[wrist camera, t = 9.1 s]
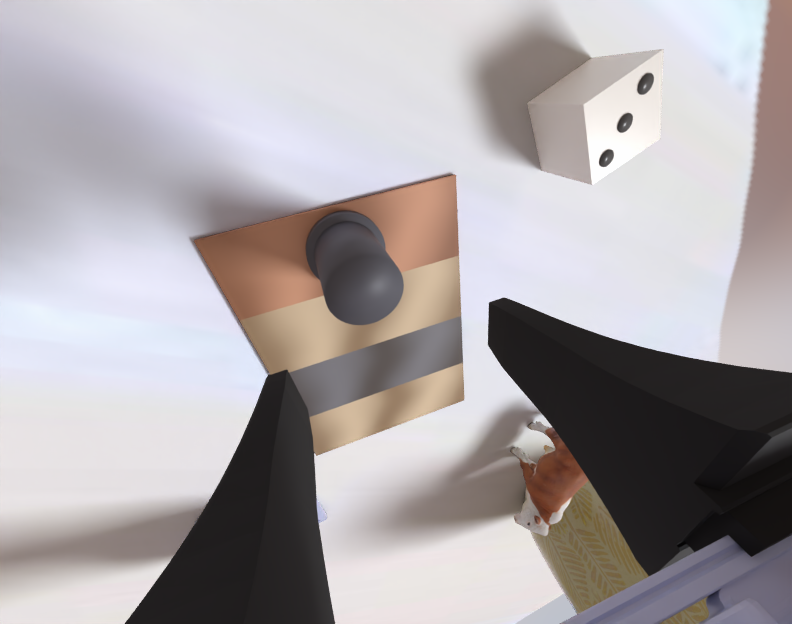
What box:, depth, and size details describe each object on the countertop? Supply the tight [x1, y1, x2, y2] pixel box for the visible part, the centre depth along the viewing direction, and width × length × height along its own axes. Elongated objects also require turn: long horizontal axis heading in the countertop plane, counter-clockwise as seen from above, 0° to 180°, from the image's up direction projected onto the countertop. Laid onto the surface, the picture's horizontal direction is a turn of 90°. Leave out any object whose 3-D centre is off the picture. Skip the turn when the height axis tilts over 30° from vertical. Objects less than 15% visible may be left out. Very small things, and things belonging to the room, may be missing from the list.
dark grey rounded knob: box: [306, 210, 404, 325], centre depth 16 cm, size 4×4×5 cm
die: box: [527, 49, 664, 185], centre depth 17 cm, size 4×4×4 cm
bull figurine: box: [510, 421, 588, 536], centre depth 35 cm, size 4×13×8 cm, turn 154°
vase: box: [524, 480, 709, 624], centre depth 39 cm, size 17×17×27 cm
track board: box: [194, 175, 464, 456], centre depth 23 cm, size 14×20×1 cm
